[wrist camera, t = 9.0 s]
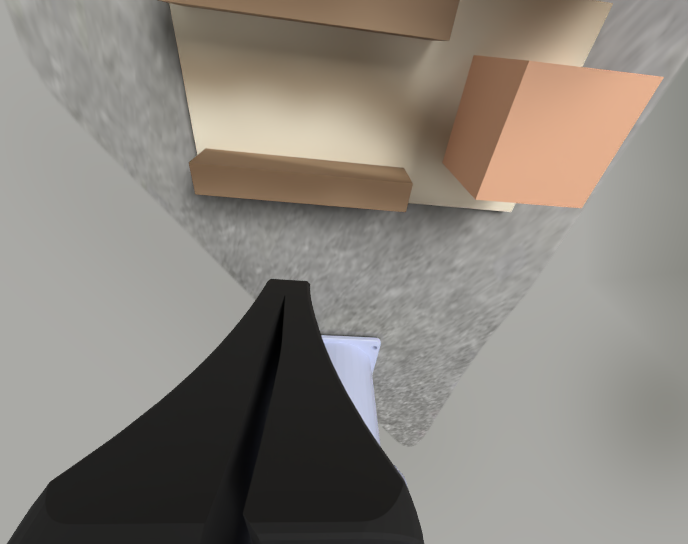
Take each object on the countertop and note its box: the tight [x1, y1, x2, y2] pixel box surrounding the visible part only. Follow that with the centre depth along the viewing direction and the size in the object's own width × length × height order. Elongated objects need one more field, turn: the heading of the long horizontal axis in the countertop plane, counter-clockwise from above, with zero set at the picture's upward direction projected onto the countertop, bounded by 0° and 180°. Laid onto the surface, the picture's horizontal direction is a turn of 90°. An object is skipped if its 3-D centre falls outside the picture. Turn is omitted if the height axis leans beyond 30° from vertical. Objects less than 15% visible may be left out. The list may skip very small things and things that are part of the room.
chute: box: [159, 0, 460, 212], centre depth 14 cm, size 9×11×2 cm
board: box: [169, 0, 613, 212], centre depth 15 cm, size 10×19×1 cm, turn 84°
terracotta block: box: [442, 55, 664, 208], centre depth 14 cm, size 5×5×5 cm
